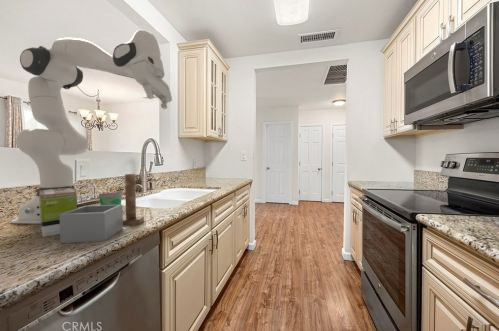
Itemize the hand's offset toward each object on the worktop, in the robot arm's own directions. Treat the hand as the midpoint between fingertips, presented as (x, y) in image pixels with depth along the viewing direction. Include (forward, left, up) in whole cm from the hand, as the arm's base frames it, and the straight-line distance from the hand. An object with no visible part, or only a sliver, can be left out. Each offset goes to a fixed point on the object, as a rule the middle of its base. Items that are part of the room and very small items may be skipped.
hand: (157, 103), depth 84 cm
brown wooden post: (-13, +7, -47) cm, 49 cm away
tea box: (-37, +3, -47) cm, 60 cm away
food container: (-29, +29, -47) cm, 63 cm away
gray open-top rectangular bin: (-20, -6, -47) cm, 51 cm away
